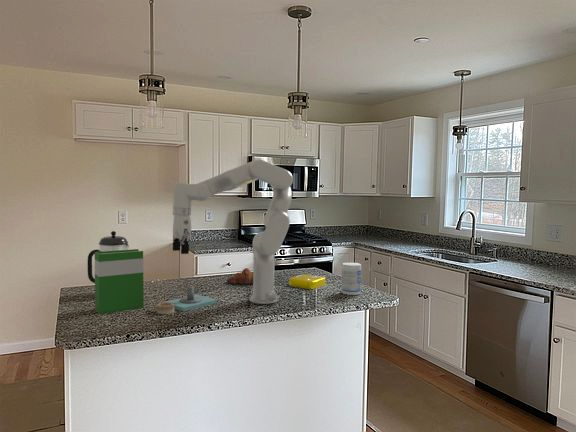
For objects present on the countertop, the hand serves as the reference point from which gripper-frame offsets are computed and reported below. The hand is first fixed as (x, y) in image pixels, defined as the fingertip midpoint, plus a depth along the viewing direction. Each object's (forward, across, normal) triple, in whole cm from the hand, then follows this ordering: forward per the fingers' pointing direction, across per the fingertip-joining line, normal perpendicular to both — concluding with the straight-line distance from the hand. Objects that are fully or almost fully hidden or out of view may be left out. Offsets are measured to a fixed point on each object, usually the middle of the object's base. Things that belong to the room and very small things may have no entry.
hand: (180, 252), depth 189 cm
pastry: (+23, +26, -49) cm, 60 cm away
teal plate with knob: (+23, +1, -6) cm, 24 cm away
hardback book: (+25, +10, +22) cm, 34 cm away
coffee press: (+25, +37, +19) cm, 48 cm away
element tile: (+22, +5, -73) cm, 76 cm away
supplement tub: (+21, -21, -81) cm, 86 cm away
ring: (+24, -5, +7) cm, 25 cm away
